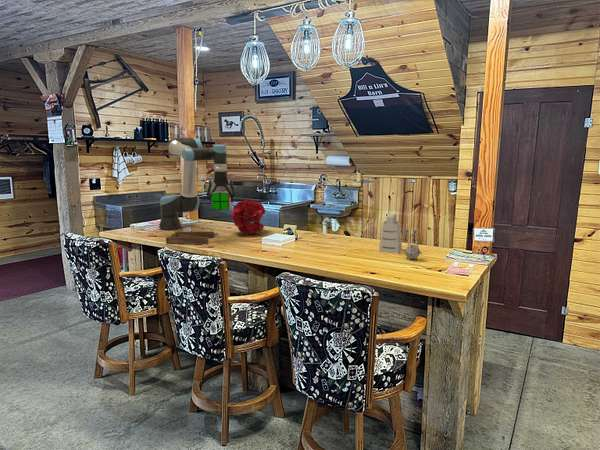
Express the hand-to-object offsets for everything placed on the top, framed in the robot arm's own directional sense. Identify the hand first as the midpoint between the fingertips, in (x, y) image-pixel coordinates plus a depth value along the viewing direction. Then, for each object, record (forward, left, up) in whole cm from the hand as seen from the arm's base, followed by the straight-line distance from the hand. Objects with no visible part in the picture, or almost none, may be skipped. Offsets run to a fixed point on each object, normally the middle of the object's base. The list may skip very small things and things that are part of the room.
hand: (221, 207), depth 259 cm
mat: (-16, -13, -20) cm, 29 cm away
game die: (+47, +104, -21) cm, 116 cm away
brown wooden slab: (0, -19, -20) cm, 28 cm away
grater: (+28, +97, -21) cm, 103 cm away
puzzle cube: (0, 0, -1) cm, 1 cm away
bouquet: (-24, +15, -21) cm, 35 cm away
